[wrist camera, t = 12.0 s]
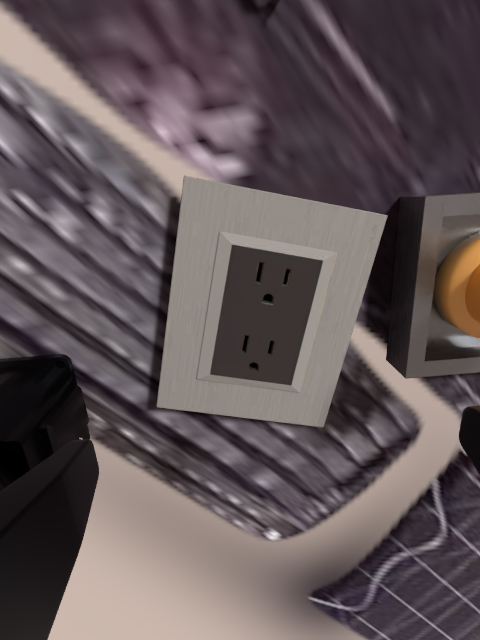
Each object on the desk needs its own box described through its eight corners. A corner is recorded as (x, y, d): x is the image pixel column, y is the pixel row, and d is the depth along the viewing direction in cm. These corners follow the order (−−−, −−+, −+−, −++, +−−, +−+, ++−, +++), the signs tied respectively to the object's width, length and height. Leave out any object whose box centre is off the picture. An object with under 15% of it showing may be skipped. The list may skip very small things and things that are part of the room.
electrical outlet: (314, 408, 24) (324, 430, 22) (161, 389, 23) (155, 410, 21) (370, 214, 20) (389, 215, 18) (187, 178, 19) (183, 175, 17)
